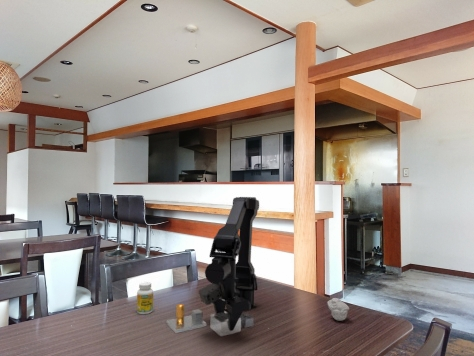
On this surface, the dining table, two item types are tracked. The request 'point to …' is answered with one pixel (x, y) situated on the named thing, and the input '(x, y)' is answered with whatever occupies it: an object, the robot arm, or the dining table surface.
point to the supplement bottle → (145, 298)
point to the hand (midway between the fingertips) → (225, 326)
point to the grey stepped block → (246, 320)
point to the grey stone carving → (338, 309)
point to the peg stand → (186, 320)
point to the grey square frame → (223, 324)
